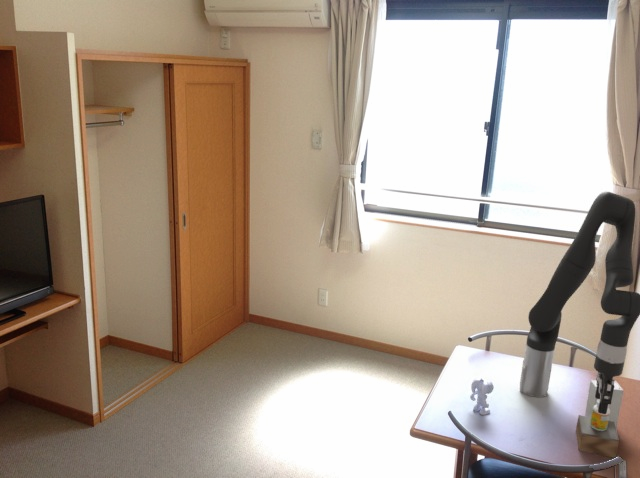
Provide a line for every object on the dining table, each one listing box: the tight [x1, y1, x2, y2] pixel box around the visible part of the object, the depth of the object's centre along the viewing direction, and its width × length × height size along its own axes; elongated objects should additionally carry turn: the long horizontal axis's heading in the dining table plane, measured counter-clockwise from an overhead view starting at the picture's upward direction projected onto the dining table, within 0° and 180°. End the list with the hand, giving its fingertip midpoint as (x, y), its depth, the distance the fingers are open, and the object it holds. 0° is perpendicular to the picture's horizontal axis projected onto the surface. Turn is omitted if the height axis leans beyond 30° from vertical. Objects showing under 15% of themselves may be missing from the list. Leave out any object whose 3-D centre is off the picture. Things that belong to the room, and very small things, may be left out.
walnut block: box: [575, 414, 620, 459], centre depth 178 cm, size 10×10×6 cm
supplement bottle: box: [590, 399, 610, 431], centre depth 176 cm, size 5×5×8 cm
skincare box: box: [584, 379, 624, 430], centre depth 187 cm, size 8×6×15 cm
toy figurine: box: [470, 378, 494, 416], centre depth 193 cm, size 7×6×12 cm
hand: (600, 405), depth 175 cm, fingers open, 8 cm apart
